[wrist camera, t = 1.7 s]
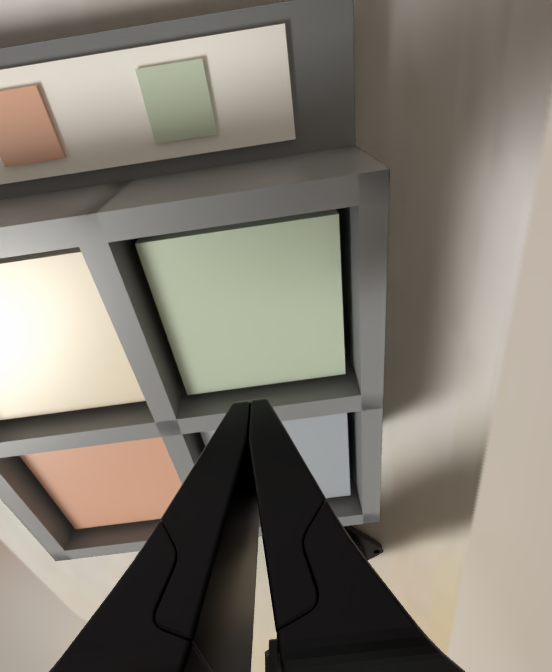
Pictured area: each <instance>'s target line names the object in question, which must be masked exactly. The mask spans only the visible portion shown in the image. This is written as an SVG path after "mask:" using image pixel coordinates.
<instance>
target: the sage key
mask: <svg viewBox="0 0 552 672" xmlns="http://www.w3.org/2000/svg"><path fill="white" fill-rule="evenodd" d="M135 246H136V249H137V252H138V255H139V257H140V260H141V263H142V266H143V269H144V272H145V275H146V278H147V280H148V283H149V286H150V289H151V292H152V295H153V298H154V301H155V303H156V306H157V309H158V312H159V315H160V318H161V321H162V323H163V326H164V329H165V332H166V335H167V338H168V341H169V344H170V346H171V349H172V352H173V355H174V358H175V361H176V364H177V367H178V369H179V372H180V375H181V378H182V381H183V384H184V387H185V389H186V392H187V395H192V394H200V393H207V392H215V391H222V390H230V389H237V388H245V387H252V386H260V385H267V384H275V383H282V382H290V381H297V380H305V379H312V378H320V377H327V376H335V375H342V374H346V373H345V349H344V325H343V301H342V277H341V253H340V229H339V213H338V212H337V210H336V209H333V210H326V211H319V212H312V213H305V214H299V215H292V216H285V217H278V218H271V219H265V220H258V221H251V222H244V223H237V224H231V225H224V226H217V227H210V228H204V229H197V230H190V231H183V232H176V233H170V234H163V235H156V236H149V237H142V238H139V239H138V240H137V242H136V243H135Z"/></svg>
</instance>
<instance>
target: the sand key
mask: <svg viewBox="0 0 552 672" xmlns="http://www.w3.org/2000/svg"><path fill="white" fill-rule="evenodd" d="M140 401H146V400H145V398H144V396H143V393H142V391H141V389H140V386H139V384H138V382H137V379H136V377H135V375H134V372H133V370H132V368H131V366H130V363H129V361H128V359H127V356H126V354H125V352H124V349H123V347H122V345H121V342H120V340H119V338H118V336H117V333H116V331H115V329H114V326H113V324H112V322H111V319H110V317H109V315H108V313H107V310H106V308H105V306H104V303H103V301H102V299H101V296H100V294H99V292H98V289H97V287H96V285H95V283H94V280H93V278H92V276H91V273H90V271H89V269H88V266H87V264H86V262H85V259H84V257H83V255H82V253H81V250H80V248H79V247H75V248H68V249H61V250H54V251H47V252H41V253H34V254H27V255H20V256H13V257H7V258H0V420H6V419H13V418H21V417H28V416H36V415H43V414H51V413H58V412H66V411H73V410H81V409H88V408H96V407H103V406H110V405H118V404H125V403H133V402H140Z"/></svg>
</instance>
